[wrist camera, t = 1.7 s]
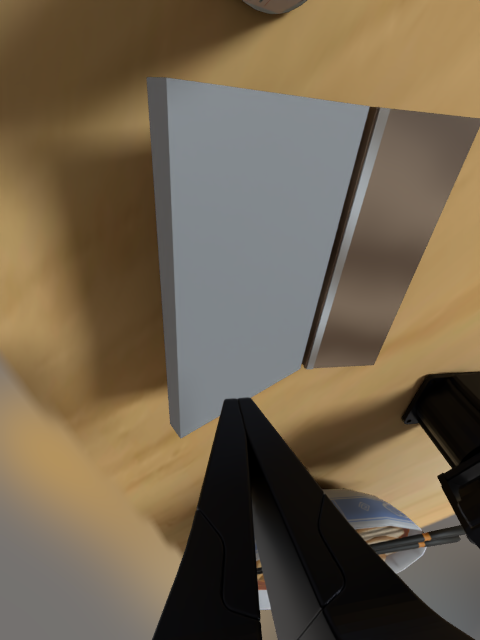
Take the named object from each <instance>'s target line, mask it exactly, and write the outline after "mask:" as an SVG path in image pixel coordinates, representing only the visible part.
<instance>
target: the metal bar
mask: <svg viewBox="0 0 480 640" xmlns="http://www.w3.org/2000/svg"><path fill="white" fill-rule="evenodd" d="M479 127H480V119H479V118H470V117H461V116H452V115H443V114H434V113H425V112H416V111H407V110H397V109H389V108H379V107H369V111H368V115H367V118H366V122H365V126H364V130H363V133H362V137H361V141H360V145H359V149H358V152H357V156H356V160H355V164H354V167H353V171H352V175H351V179H350V183H349V186H348V190H347V194H346V198H345V201H344V205H343V209H342V213H341V216H340V220H339V224H338V228H337V232H336V235H335V239H334V243H333V247H332V250H331V254H330V258H329V262H328V265H327V269H326V273H325V277H324V281H323V284H322V288H321V292H320V296H319V299H318V303H317V307H316V311H315V315H314V318H313V322H312V326H311V330H310V333H309V337H308V341H307V345H306V348H305V352H304V356H303V360H302V363H303V365H304V368H306V369H313V368H325V367H345V366H365V365H374V363H375V361H376V359H377V357H378V354H379V352H380V350H381V348H382V345H383V343H384V341H385V339H386V336H387V334H388V332H389V330H390V327H391V325H392V323H393V321H394V318H395V316H396V314H397V312H398V309H399V307H400V305H401V303H402V300H403V298H404V296H405V294H406V291H407V289H408V287H409V285H410V282H411V280H412V278H413V276H414V273H415V271H416V269H417V267H418V264H419V262H420V260H421V258H422V255H423V253H424V251H425V249H426V246H427V244H428V242H429V240H430V237H431V235H432V233H433V231H434V228H435V226H436V224H437V222H438V219H439V217H440V215H441V213H442V210H443V208H444V206H445V204H446V201H447V199H448V197H449V195H450V192H451V190H452V188H453V186H454V183H455V181H456V179H457V177H458V174H459V172H460V170H461V168H462V165H463V163H464V161H465V159H466V156H467V154H468V152H469V150H470V147H471V145H472V143H473V141H474V138H475V136H476V134H477V132H478V130H479Z"/></svg>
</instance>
